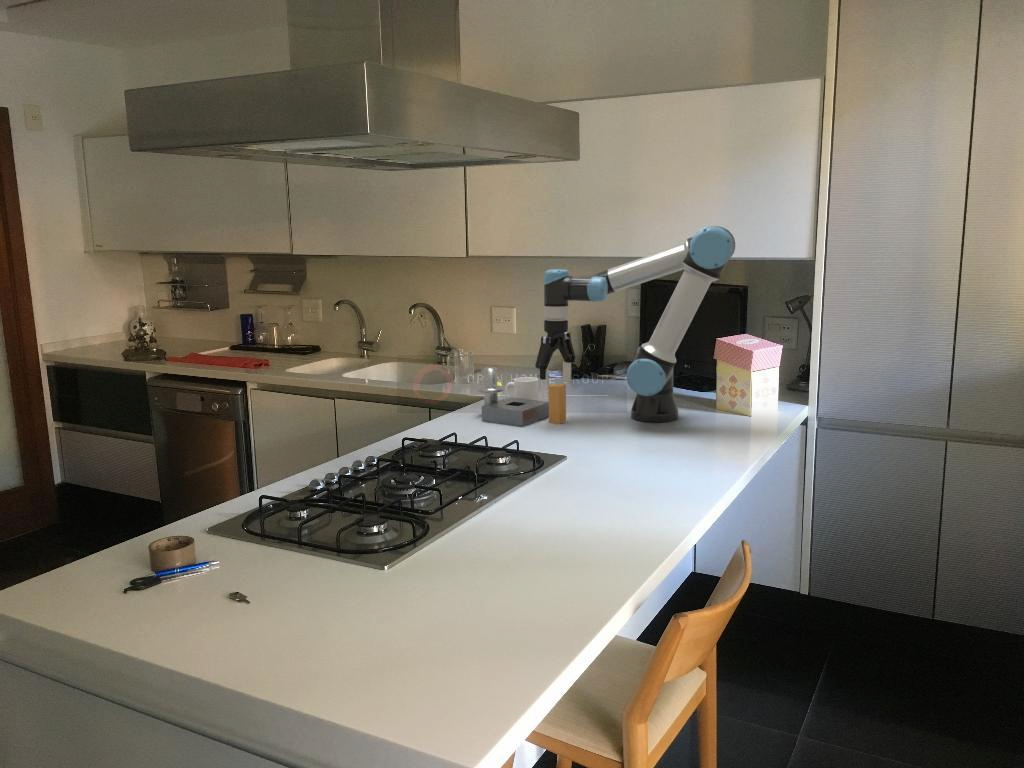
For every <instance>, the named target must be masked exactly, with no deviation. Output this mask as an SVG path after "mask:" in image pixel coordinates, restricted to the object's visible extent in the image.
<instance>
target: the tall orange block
mask: <svg viewBox="0 0 1024 768" xmlns="http://www.w3.org/2000/svg"><path fill="white" fill-rule="evenodd" d="M566 389H567V386H566V384H561V383H553V384H549V390H547V392H548V402H549V417H548V424H549V423H550V424H557V425H561V424H563V423H566V422H567V395H566V394H567V390H566Z"/></svg>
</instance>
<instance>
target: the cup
mask: <svg viewBox="0 0 1024 768" xmlns="http://www.w3.org/2000/svg"><path fill="white" fill-rule="evenodd" d="M511 386H513V387H514V388H513V389H514V391H513V392H514V394H513V395H514V398H521V399H529V400H538V401H540V400H539V397H540V396H539V378H537V377H532V376H524V377H523V376H521V377H516V378H514V380H513V381H509V382H508V383H507V384H506V385H505V389H504V395H505V398H509V397H510V396H509V388H510V387H511Z"/></svg>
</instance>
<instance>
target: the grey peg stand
mask: <svg viewBox="0 0 1024 768" xmlns="http://www.w3.org/2000/svg"><path fill="white" fill-rule="evenodd" d="M477 392H479V393H482V394H483V395H484V404H483V405H481V422H485V423H486V422H487V423H492V424H493V423H494V424H501V425H506V426H507V425H508V426H515V427H520V428H521V427H523V428H524V427H527V426H529V425H531V424H534V423H537V422H540V421H541V420H542V421H543V420H545V419H549V401H545V400H539V401H538V400H529V399H521V398H515V397H513V396H512V397H511V396H509V398H506V397H505V398H503V399H500V400H499V398H498V397H499V395H498V393H502V392H504V386H503V385H499V384H498V368H497V367H496V366H487V367H484V368H483V385H481V386H479V387H477Z"/></svg>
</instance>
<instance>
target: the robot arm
mask: <svg viewBox="0 0 1024 768" xmlns="http://www.w3.org/2000/svg"><path fill="white" fill-rule="evenodd" d="M735 250H736V241H735V237H734V235H733V234H732V233H731V232H730V230H728V229H726V228H725V227H724V226H723V227H722V226H717V225H712V226H711V225H708V226H706V227H705V226H704V227H703V228H701V229H699V230H698V231H697V232H696V233H695V234H694V235H693V236H692V237H689V238H686V239H685V241H684V242H683V243H682V244H678V245H676V246H673V247H670V248H667V249H664V250H662V251H659V252H655V253H653V254H650V255H646V256H644V257H640V258H638V259H634V260H632V261H628V262H626V263H622V264H621V265H620V264H619V265H616V266H614V267H611V268H609V269H606V270H602V271H600V272H596V273H593V274H591V275H586V276H573V275H572V276H571V275H570V274H569V271H568V269H561V268H560V269H556V268H555V269H548V270H546V271H545V273H544V279H543V280H544V282H543V292H544V293H543V301H544V302H543V311H544V312H543V313H544V315H543V316H544V319H545V320H543V330H544V332H545V333H546V334H547V335H546V336H541V338H540V346H539V350H538V354H537V357H536V361H535V368H536V369H539V389H540V390H543V391H544V390H545V391H548V390H549V385H550V383H549V381H550V380H549V379H550V378H549V377H550V373H549V372H550V370H549V368H548V367H549V364H550V361H552V360H551V359H552V357H553V355H554V352H556V350H558V351H559V352H560V355H561V357H562V358H563V360H564V361H563V362H562V383H566V384H567V383H568V384H571V383H572V363H575V361H576V354H575V350H574V346H573V343H572V339H571V338H572V337H571V332H568V331H569V320H568V318H569V301H570V302H573V301H577V302H578V301H579V302H580V301H581V302H594V303H595V302H603V301H604V302H605V300H606V299H607V296H608V295H610V294H613V293H616V292H620V291H622V290H625V289H628V288H631V287H635V286H638V285H640V284H643V283H647V282H649V281H652V280H656V279H659V278H661V277H665V276H668V275H671V274H674V273H677V272H679V271H682V270H683V271H682V272H683V273H682V275H681V276H680V279H679V280H678V282H677V285H676V287H675V289H674V290H673V293H672V295H671V296H670V299H669V300H668V303H667V305H666V306H665V308H664V311H663V313H662V314H661V317H660V318H659V320H658V323H657V325H656V326H655V328H654V330H653V333H652V335H651V336H650V339H649V341H647V342H645V343H642V344H641V345H640V346H639V347H637V349H636V355H635V358H634V359H633V361H632V362H631V364H629V366H628V368H627V370H626V381H627V384H628V386H629V388H630V389H631V391H633V392H634V393H636V394H635V398H634V401H633V404H632V407H631V410H630V417H631V419H633V420H635V421H640V422H645V423H646V422H648V423H665V422H666V423H667V422H672V421H676V420H677V419H679V409H678V406H677V403H676V400H675V396H674V368H675V365H676V363H677V358H676V356H675V355H676V352H677V350H678V349H679V346H680V344H681V342H682V340H683V339H684V336H685V334H686V333H687V331H688V329H689V327H690V325H691V323H692V321H693V319H694V317H695V315H696V313H697V311H698V309H699V307H700V305H701V303H702V301H703V300H704V297H705V295H706V293H708V292H707V291H708V290H709V287H710V286H711V284H712V283H713V282H716V281H718V280H720V277H721V276H722V274H723V272H724V271H725V268H726V266H727V265H728V262H729V260H730V259H731V258H732V257H733V255H734V253H735Z"/></svg>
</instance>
